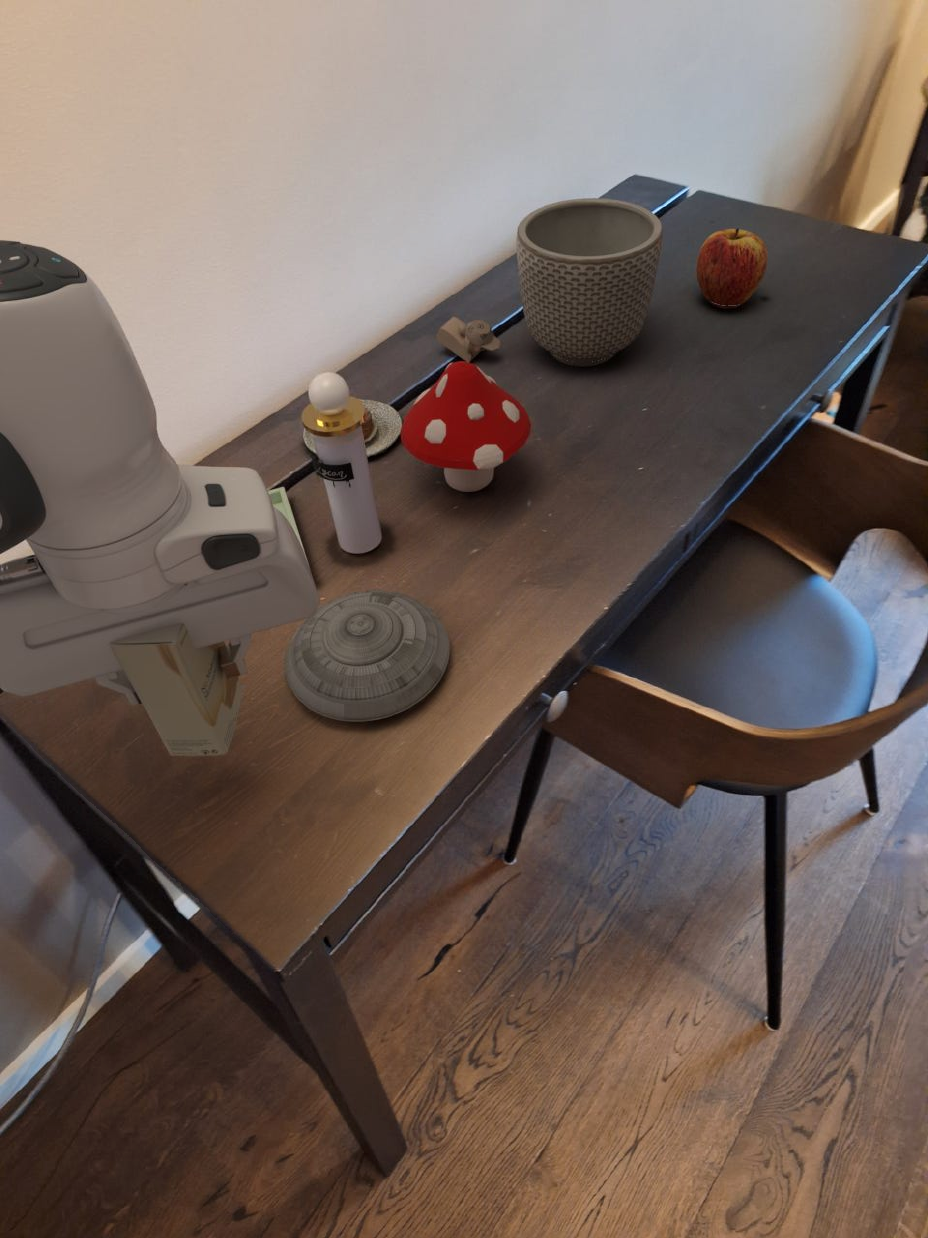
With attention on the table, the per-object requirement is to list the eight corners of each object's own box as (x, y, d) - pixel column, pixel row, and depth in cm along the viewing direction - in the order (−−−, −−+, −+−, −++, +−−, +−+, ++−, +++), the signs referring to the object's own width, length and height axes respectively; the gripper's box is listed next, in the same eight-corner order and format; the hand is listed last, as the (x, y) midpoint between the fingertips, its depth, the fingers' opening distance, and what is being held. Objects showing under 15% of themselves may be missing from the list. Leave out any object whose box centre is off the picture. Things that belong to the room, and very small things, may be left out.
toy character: (479, 381, 108) (494, 348, 103) (431, 347, 109) (443, 312, 104) (495, 366, 110) (509, 333, 105) (448, 332, 111) (460, 298, 106)
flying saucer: (367, 580, 82) (358, 540, 78) (484, 649, 75) (481, 609, 71) (254, 676, 74) (238, 637, 70) (372, 761, 67) (361, 724, 63)
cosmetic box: (228, 757, 58) (175, 647, 49) (169, 758, 58) (105, 648, 49) (246, 686, 62) (200, 572, 53) (191, 687, 63) (136, 574, 54)
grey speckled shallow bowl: (323, 404, 103) (315, 372, 100) (414, 410, 101) (409, 377, 98) (291, 462, 96) (282, 429, 92) (388, 470, 93) (383, 436, 90)
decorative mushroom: (447, 432, 97) (435, 315, 86) (552, 460, 93) (555, 340, 81) (385, 503, 89) (364, 383, 78) (497, 538, 85) (492, 415, 73)
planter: (650, 319, 112) (664, 197, 100) (647, 389, 101) (662, 261, 89) (526, 315, 115) (525, 196, 103) (509, 383, 104) (506, 258, 92)
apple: (679, 308, 113) (690, 236, 106) (706, 281, 118) (718, 210, 111) (742, 324, 110) (757, 250, 102) (767, 295, 114) (783, 222, 107)
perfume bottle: (349, 520, 88) (312, 353, 73) (397, 531, 86) (369, 362, 71) (324, 555, 84) (279, 387, 70) (373, 568, 83) (339, 398, 68)
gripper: (-79, 622, 43) (35, 764, 53) (301, 524, 47) (340, 674, 57) (-68, 547, 47) (37, 692, 57) (281, 462, 51) (321, 612, 61)
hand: (190, 682), depth 57 cm, fingers closed on cosmetic box, 5 cm apart
